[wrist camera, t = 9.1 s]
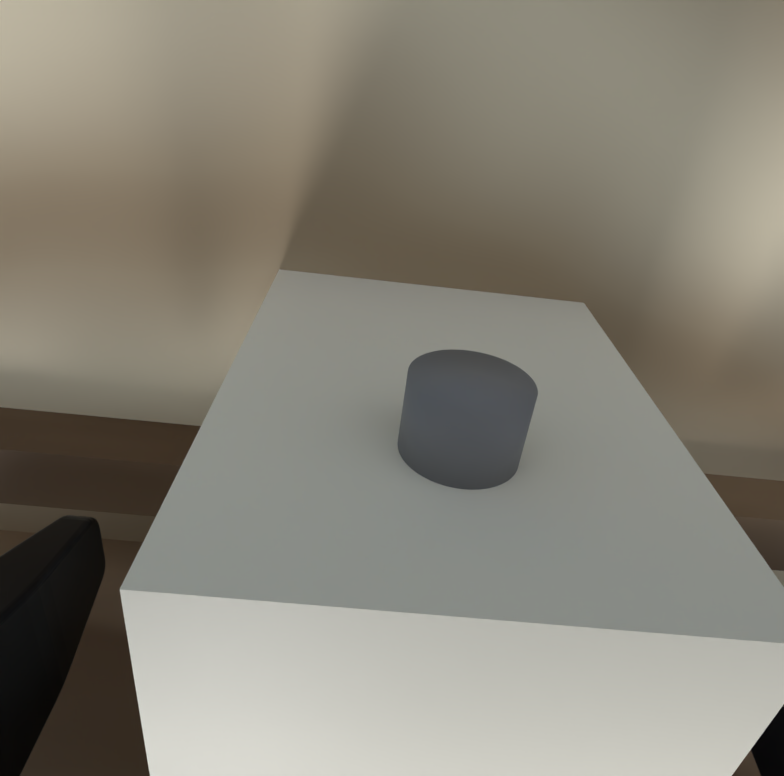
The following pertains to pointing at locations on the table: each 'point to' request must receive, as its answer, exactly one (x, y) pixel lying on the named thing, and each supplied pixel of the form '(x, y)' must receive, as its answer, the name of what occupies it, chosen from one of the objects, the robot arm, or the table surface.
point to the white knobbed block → (444, 557)
